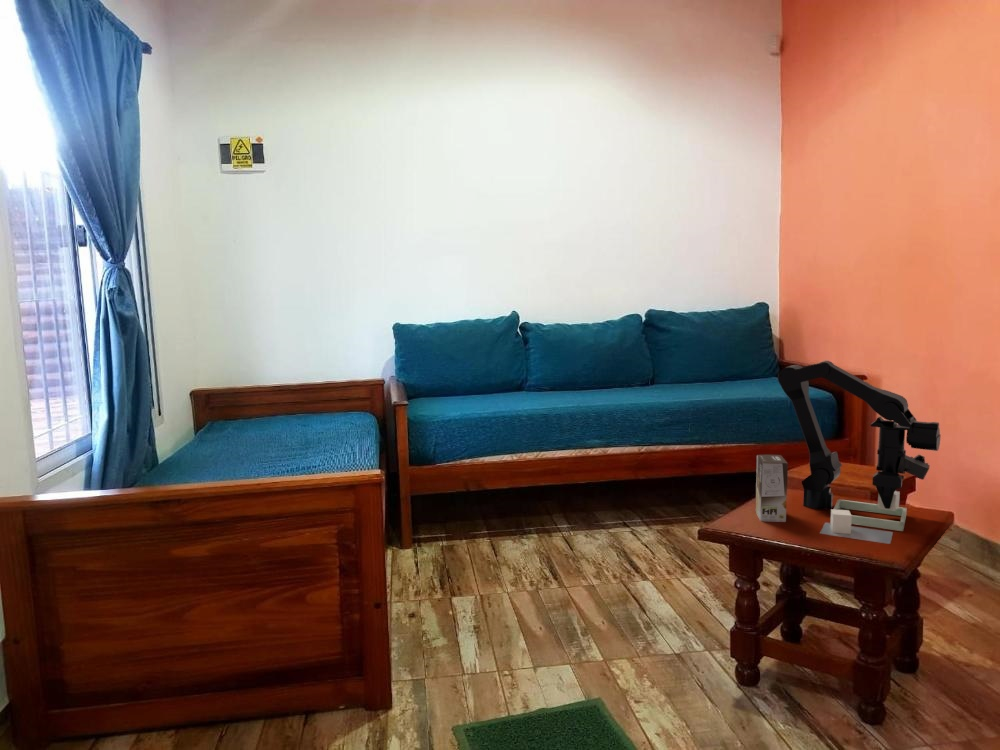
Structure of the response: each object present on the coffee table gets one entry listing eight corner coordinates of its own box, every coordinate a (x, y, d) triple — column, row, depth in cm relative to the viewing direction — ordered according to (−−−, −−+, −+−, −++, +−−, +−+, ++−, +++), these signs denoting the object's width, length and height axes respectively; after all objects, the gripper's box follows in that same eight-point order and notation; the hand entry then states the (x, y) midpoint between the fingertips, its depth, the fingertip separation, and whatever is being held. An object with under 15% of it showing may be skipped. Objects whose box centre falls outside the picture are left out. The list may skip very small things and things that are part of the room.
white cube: (832, 532, 181) (833, 514, 180) (830, 527, 185) (831, 509, 184) (850, 533, 180) (851, 515, 179) (848, 528, 184) (848, 510, 183)
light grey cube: (877, 508, 190) (878, 491, 190) (881, 504, 193) (882, 488, 192) (895, 511, 188) (896, 494, 187) (898, 507, 190) (899, 491, 190)
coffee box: (786, 525, 189) (789, 463, 187) (760, 524, 190) (762, 462, 188) (779, 514, 198) (781, 454, 196) (754, 513, 199) (755, 453, 197)
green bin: (830, 524, 189) (831, 513, 189) (837, 510, 200) (838, 499, 200) (902, 535, 181) (903, 523, 181) (906, 519, 192) (906, 508, 192)
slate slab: (819, 537, 181) (819, 533, 180) (825, 526, 188) (825, 522, 188) (889, 548, 173) (890, 543, 173) (892, 536, 180) (893, 532, 180)
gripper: (927, 457, 176) (922, 521, 178) (929, 441, 192) (925, 501, 194) (873, 452, 182) (870, 514, 184) (880, 437, 198) (877, 495, 200)
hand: (887, 506), depth 190 cm, fingers closed on light grey cube, 4 cm apart
